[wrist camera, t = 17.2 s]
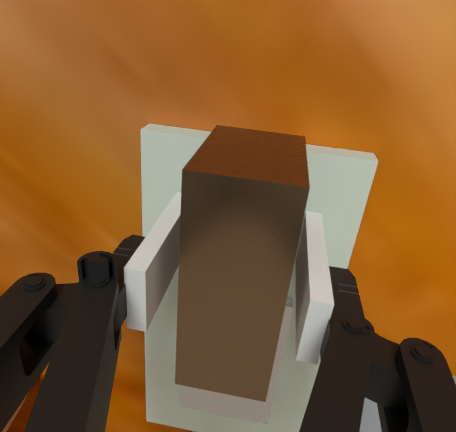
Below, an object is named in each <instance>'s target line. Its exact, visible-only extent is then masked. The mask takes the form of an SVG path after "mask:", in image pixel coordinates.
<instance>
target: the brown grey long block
mask: <svg viewBox="0 0 456 432" xmlns="http://www.w3.org/2000/svg"><path fill="white" fill-rule="evenodd" d="M309 189H310V184H309V174H308V163H307V152H306V141H305V136H297V135H289V134H282V133H274V132H266V131H258V130H251V129H243V128H235V127H227V126H220V125H217V126H216V127H215V128H214V130H213V131H212V132H211V133H210V135H209V136H208V137H207V138H206V140H205V141H204V142H203V144H202V145H201V146H200V147H199V149H198V150H197V151H196V152H195V154H194V155H193V156H192V158H191V159H190V160H189V161H188V163H187V164H186V165H185V166H184V168H183V169H182V184H181V215H180V245H179V275H178V305H177V335H176V365H175V384H178V385H180V400H179V406H181V407H186V408H191V409H196V410H201V411H205V412H210V413H215V414H220V415H225V416H230V417H234V418H239V419H244V420H249V421H254V422H259V423H263V424H268V421H269V416H270V411H271V407H272V402H273V398H274V393H275V389H276V384H277V380H278V375H279V371H280V366H281V361H282V357H283V352H284V348H285V343H286V339H287V334H288V330H289V325H290V321H291V316H292V311H293V298H290V297H287V296H288V291H289V286H290V281H291V277H292V272H293V267H294V262H295V257H296V252H297V248H298V243H299V238H300V233H301V228H302V223H303V219H304V214H305V209H306V204H307V199H308V194H309Z"/></svg>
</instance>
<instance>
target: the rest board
mask: <svg viewBox="0 0 456 432" xmlns="http://www.w3.org/2000/svg"><path fill="white" fill-rule="evenodd" d="M210 133H211V132H210V131H202V130H195V129H187V128H179V127H172V126H164V125H157V124H148V125H146V126H145V127H143V128H142V129H141V175H142V227H143V236H144V237H146V236H147V234H148V233H149V232H150V230H151V229H152V227H153V226H154V225H155V223H156V222H157V220H158V219H159V218H160V216H161V215H162V213H163V212H164V210H165V209H166V208H167V206H168V205H169V203H170V202H171V201H172V199H173V198H174V196H175V195H176V194H177V192H181V184H182V169H183V168H184V166H185V165H186V164H187V163H188V161H189V160H190V159H191V158H192V156H193V155H194V154H195V152H196V151H197V150H198V149H199V147H200V146H201V145H202V144H203V142H204V141H205V140H206V138H207V137H208V136H209V135H210ZM306 152H307V163H308V174H309V184H310V189H309V194H308V199H307V204H306V209H305V211H308V212H315V213H322V220H323V227H324V235H325V242H326V249H327V256H328V263H329V266H332V267H338V268H345V269H347V268H348V264H349V261H350V257H351V254H352V250H353V247H354V244H355V240H356V237H357V233H358V230H359V226H360V223H361V219H362V216H363V212H364V209H365V206H366V202H367V199H368V195H369V192H370V188H371V185H372V181H373V178H374V175H375V171H376V168H377V164H378V160H377V158H376V156H375V155H374V153H369V152H362V151H354V150H346V149H339V148H331V147H324V146H316V145H308V144H306ZM304 216H305V214H304ZM303 220H304V219H303ZM302 225H303V223H302ZM301 230H302V228H301ZM300 235H301V233H300ZM299 240H300V238H299ZM298 244H299V243H298ZM297 249H298V248H297ZM296 254H297V252H296ZM178 275H179V266H178V268H177V270H176V272H175V274H174V276H173V278H172V280H171V282H170V284H169V286H168V288H167V291H166V293H165V295H164V297H163V299H162V301H161V303H160V305H159V307H158V309H157V311H156V313H155V315H154V317H153V319H152V321H151V323H150V325H149V327H148V330H147V332H145V383H146V421H148V422H153V423H157V424H162V425H167V426H171V427H176V428H181V429H186V430H190V431H195V432H299V430H300V427H301V424H302V420H303V417H304V414H305V411H306V408H307V404H308V401H309V398H310V395H311V392H312V388H313V385H314V382H315V378H316V375H317V371H318V368H319V364H320V361H321V359H320V356H319V360H318V363H317V364H313V363H308V362H302V361H297V360H296V257H295V262H294V267H293V272H292V277H291V281H290V286H289V291H288V296H287V297H290V298H293V311H292V316H291V321H290V325H289V330H288V334H287V339H286V343H285V348H284V352H283V357H282V361H281V366H280V371H279V375H278V380H277V384H276V389H275V393H274V398H273V402H272V407H271V411H270V416H269V421H268V424H263V423H259V422H254V421H249V420H244V419H239V418H234V417H230V416H225V415H220V414H215V413H210V412H205V411H201V410H196V409H191V408H186V407H181V406H179V400H180V385H178V384H175V365H176V335H177V305H178Z"/></svg>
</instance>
